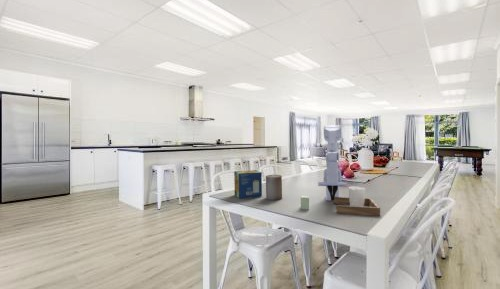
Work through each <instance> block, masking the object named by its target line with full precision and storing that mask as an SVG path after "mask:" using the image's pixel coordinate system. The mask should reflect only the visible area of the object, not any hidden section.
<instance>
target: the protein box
mask: <svg viewBox="0 0 500 289" xmlns="http://www.w3.org/2000/svg"><path fill="white" fill-rule="evenodd" d="M233 174H234V176H233V177H234V183H233V184H234V196H235V195H236V196H237V197H238V198H237V197H236V196H235V197H236V198H237V199H239V198H240V199H250V198H249V197H252V198H260V197H259V196H263V194H262V193H263V192H262V191H263V190H262V188H263V186H262V185H263V184H262V183H263V182H262V181H263V180H262V179H263V178H262V177H263V176H262V174H263V173H262V172H261V171H259V170H257V169H254V170H234V171H233Z"/></svg>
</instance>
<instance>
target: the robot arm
mask: <svg viewBox="0 0 500 289" xmlns="http://www.w3.org/2000/svg"><path fill="white" fill-rule="evenodd" d="M341 135H342V126H341V125H340V124H339V125H338V124H337V125H324V126H323V139H324V141H326V142H327V144H326V153H325V163H326V164H325V165H326V168H325V169H324V171H323V181H318V182H317V187H325V196H324V198H325V201H332V202H334V197H340V187H342V188H348V182H342V171H341V170H340V168H339V162H340V153H339V145H338V143H337V142H339V141H340V140H341V137H342V136H341Z"/></svg>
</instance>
